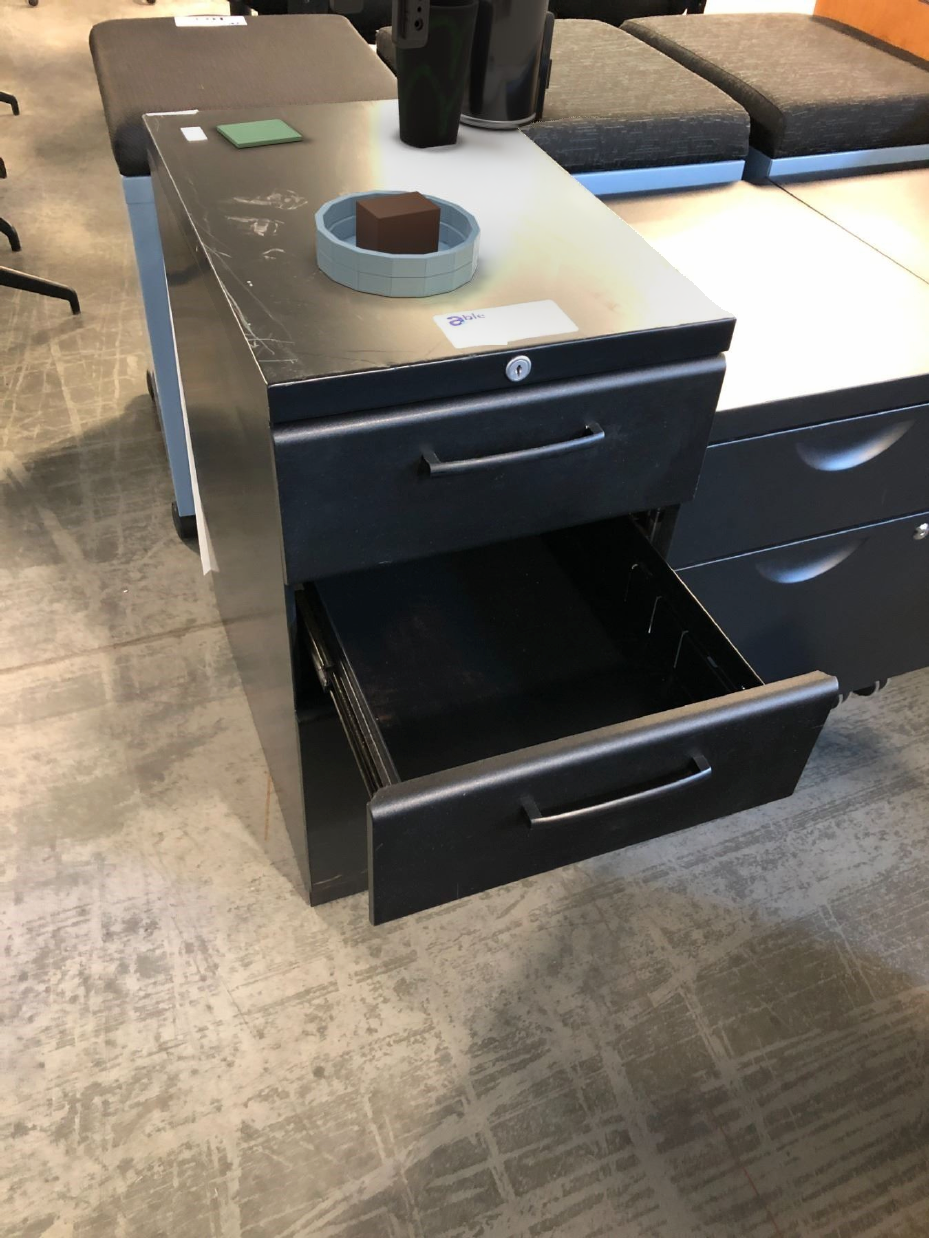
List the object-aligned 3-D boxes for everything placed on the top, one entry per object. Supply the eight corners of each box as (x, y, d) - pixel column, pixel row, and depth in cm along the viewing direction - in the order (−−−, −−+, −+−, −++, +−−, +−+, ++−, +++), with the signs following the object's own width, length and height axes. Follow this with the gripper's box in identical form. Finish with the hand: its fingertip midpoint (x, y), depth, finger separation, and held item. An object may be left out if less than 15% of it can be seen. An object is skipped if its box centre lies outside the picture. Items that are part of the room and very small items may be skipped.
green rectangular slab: (279, 123, 94) (279, 118, 94) (302, 140, 91) (301, 136, 91) (217, 130, 91) (216, 125, 91) (238, 148, 89) (238, 143, 88)
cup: (458, 158, 91) (469, 12, 83) (380, 145, 92) (383, -1, 84) (473, 132, 97) (485, -7, 88) (399, 121, 97) (404, -19, 89)
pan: (423, 225, 80) (425, 182, 77) (505, 287, 73) (510, 241, 70) (289, 249, 74) (287, 203, 72) (364, 318, 68) (364, 269, 65)
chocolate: (414, 245, 75) (417, 190, 72) (437, 263, 73) (441, 208, 70) (355, 256, 73) (355, 200, 70) (377, 275, 71) (378, 218, 68)
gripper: (514, -299, 49) (483, 56, 61) (381, -316, 58) (375, -1, 69) (385, -314, 46) (377, 64, 57) (263, -330, 54) (277, 4, 66)
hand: (376, 28), depth 63 cm, fingers open, 8 cm apart
